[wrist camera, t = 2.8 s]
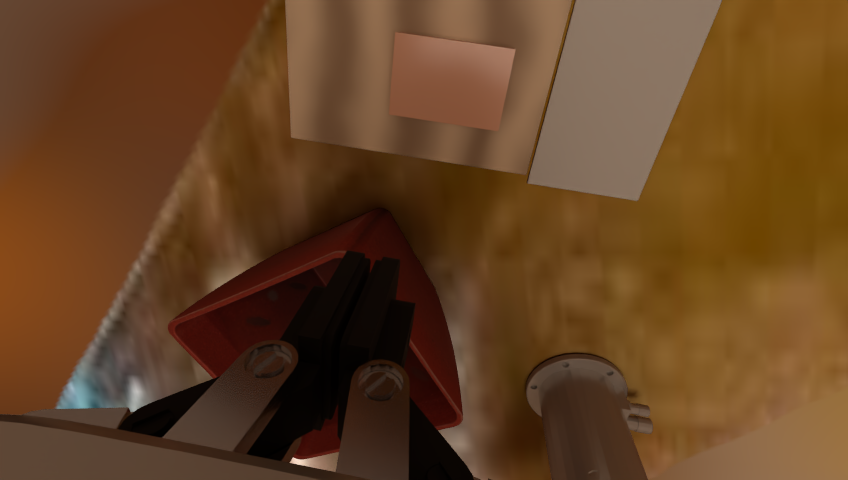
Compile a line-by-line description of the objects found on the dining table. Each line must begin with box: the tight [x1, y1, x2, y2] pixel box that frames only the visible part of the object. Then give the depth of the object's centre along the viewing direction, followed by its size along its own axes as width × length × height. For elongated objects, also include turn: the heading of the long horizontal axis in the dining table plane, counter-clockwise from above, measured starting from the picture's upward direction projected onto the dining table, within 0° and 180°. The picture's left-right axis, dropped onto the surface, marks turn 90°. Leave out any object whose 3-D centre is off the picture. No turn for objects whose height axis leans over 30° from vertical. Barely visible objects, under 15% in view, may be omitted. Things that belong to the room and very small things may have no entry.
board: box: [285, 0, 572, 175], centre depth 35 cm, size 22×14×4 cm, turn 83°
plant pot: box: [168, 208, 463, 459], centre depth 40 cm, size 19×19×17 cm
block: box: [389, 32, 516, 131], centre depth 32 cm, size 9×6×2 cm, turn 83°
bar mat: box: [527, 0, 722, 201], centre depth 35 cm, size 11×18×1 cm, turn 173°
